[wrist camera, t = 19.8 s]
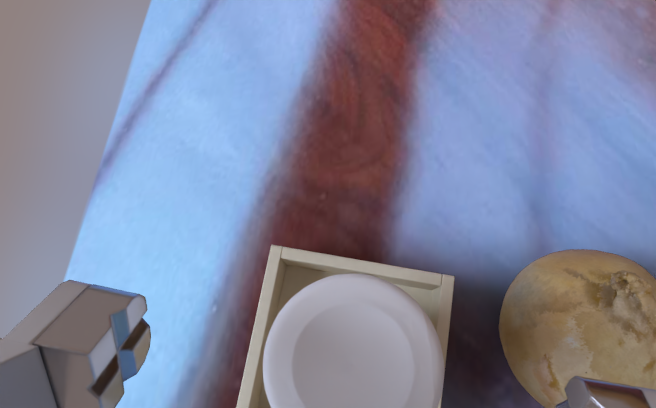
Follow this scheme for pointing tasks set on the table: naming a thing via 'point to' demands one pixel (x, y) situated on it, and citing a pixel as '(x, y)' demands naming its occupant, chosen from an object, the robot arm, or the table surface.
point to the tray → (308, 267)
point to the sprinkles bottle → (353, 348)
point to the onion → (580, 323)
